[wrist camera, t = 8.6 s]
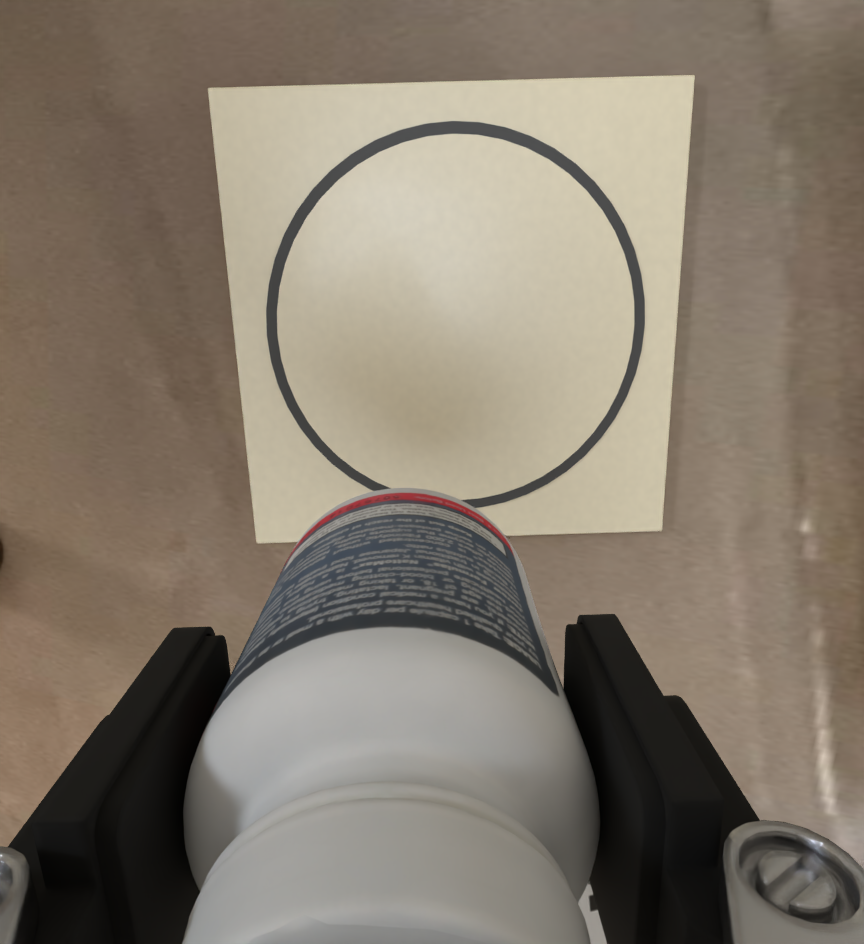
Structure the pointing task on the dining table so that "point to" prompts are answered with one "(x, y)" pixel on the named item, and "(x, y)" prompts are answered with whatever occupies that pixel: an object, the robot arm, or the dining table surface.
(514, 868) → the pill bottle
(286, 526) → the beige flat square board
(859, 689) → the dining table surface
